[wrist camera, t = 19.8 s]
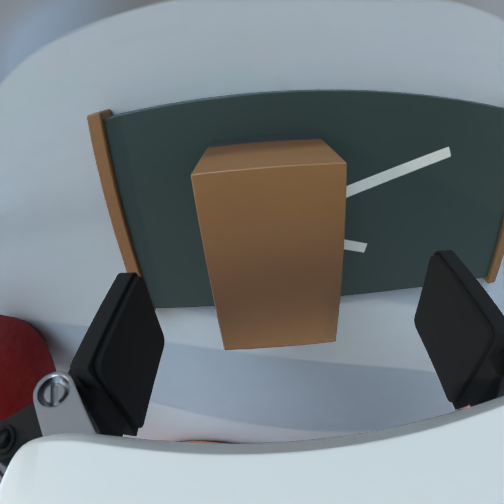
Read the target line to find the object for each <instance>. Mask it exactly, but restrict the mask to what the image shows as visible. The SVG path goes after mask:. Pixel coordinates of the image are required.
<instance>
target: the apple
mask: <svg viewBox="0 0 504 504" xmlns="http://www.w3.org/2000/svg"><path fill="white" fill-rule="evenodd" d="M53 372H56V369H55V366H54V362H53V359H52V357H51V354H50V352H49V349H48V347H47V345H46V342H45V340H44V338H43V337H42V335H41V334H40V332H39V331H37V330H36V329H35V328H34V327H33V326H31V325H30V324H28V323H26V322H25V321H23V320H20V319H17V318H14V317H9V316H4V315H0V422H1V421H3V420H4V419H6V418H8V417H10V416H11V415H13V414H15V413H17V412H18V411H20V410H22V409H23V408H25V407H27V406H29V405H30V404H32V403H34V402H33V393H34V389H35V387H36V385H37V383H38V382H39V381H40V380H41V379H42V378H43V377H45V376H46V375H48V374H50V373H53Z"/></svg>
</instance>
